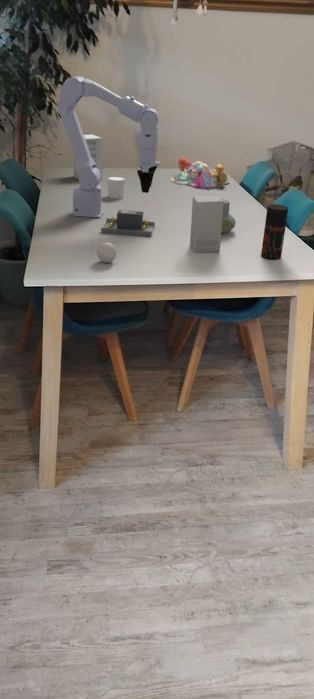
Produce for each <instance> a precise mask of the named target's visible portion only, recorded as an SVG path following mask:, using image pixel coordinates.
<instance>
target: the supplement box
mask: <svg viewBox="0 0 314 699" xmlns="http://www.w3.org/2000/svg"><path fill="white" fill-rule="evenodd" d="M84 137H85V140H86V143H87V146H88V149H89V151H90V154H91V157H92V158H93V160H94V161H95V164H96V166H97V167H98V168H99V169H100V170H101V172H102V173H103V138H102V137H100V136H98V135H95V134H84ZM72 156H73V158H72V159H73V160H72V162H73V163H72V165H73V167H72V168H73V170H72V172H73V173H72V174H73V177H74V178H76V179H78V180H79V172H78V163H77V160H76V157H75V154H74V152H72ZM102 179H103V178H102ZM102 179H101V180H102ZM102 181H103V180H102Z"/></svg>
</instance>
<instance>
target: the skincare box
mask: <svg viewBox="0 0 314 699" xmlns="http://www.w3.org/2000/svg"><path fill="white" fill-rule="evenodd" d="M223 206H224V201H223V200H222V198H221V197H220V196H219V195H202V196H201V195H199V196H195V195H194V196H192V206H191V223H190V238H189V247H190V248H191V250H192V251H193V253H216V252H218V253H220V251H221V240H222V234H221V229H222V217H223Z"/></svg>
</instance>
